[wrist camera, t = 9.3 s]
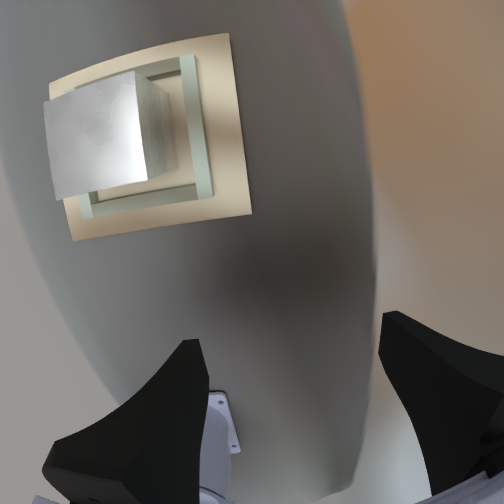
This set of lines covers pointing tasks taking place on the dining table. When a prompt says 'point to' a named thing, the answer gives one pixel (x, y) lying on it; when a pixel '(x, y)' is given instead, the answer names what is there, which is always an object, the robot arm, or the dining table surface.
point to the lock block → (109, 135)
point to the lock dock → (186, 139)
